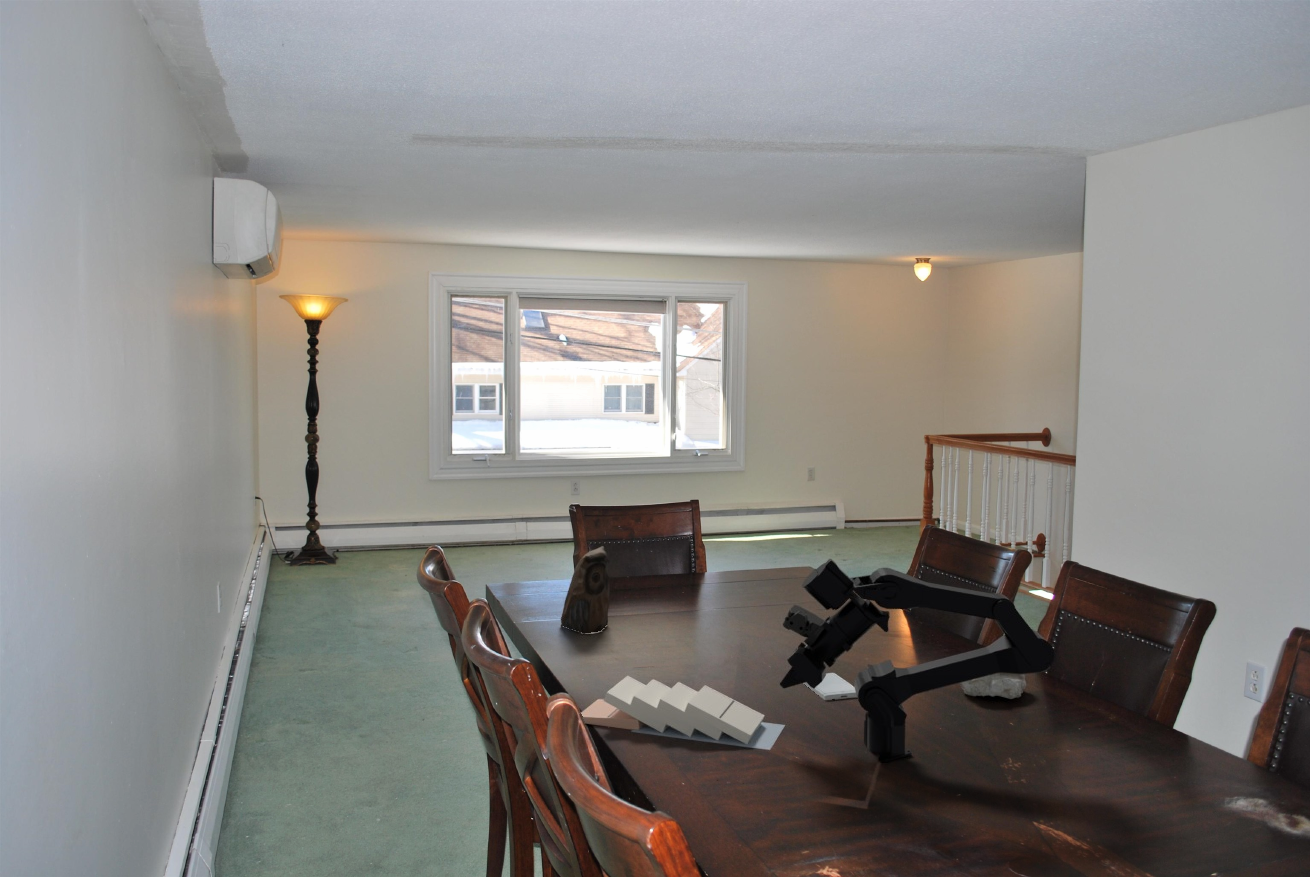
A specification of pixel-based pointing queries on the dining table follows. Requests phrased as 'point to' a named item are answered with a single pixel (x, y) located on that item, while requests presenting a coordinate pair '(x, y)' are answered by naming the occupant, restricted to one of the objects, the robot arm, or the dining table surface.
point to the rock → (996, 685)
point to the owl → (588, 594)
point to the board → (725, 736)
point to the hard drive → (834, 688)
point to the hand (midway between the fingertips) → (781, 685)
